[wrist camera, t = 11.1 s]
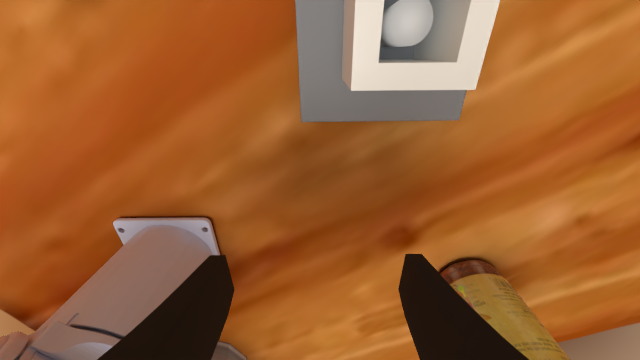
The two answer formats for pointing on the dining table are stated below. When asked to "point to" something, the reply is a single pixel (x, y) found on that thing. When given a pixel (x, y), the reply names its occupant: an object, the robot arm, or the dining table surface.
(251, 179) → the dining table surface
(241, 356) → the can
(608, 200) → the dining table surface
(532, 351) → the sauce bottle
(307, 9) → the base plate
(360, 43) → the box
